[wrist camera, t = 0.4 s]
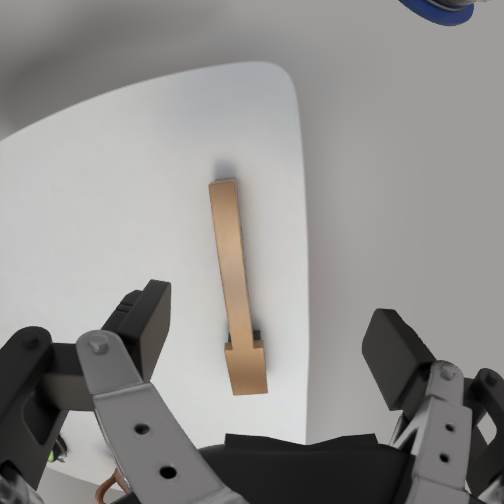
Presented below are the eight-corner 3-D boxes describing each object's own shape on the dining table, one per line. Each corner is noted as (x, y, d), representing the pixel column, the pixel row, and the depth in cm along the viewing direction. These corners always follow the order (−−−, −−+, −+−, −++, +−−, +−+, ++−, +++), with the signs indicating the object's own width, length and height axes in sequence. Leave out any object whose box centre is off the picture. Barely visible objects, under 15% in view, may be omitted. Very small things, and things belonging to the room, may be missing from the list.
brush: (203, 180, 23) (196, 186, 20) (246, 176, 23) (246, 180, 20) (234, 375, 30) (233, 397, 27) (266, 373, 29) (267, 394, 26)
